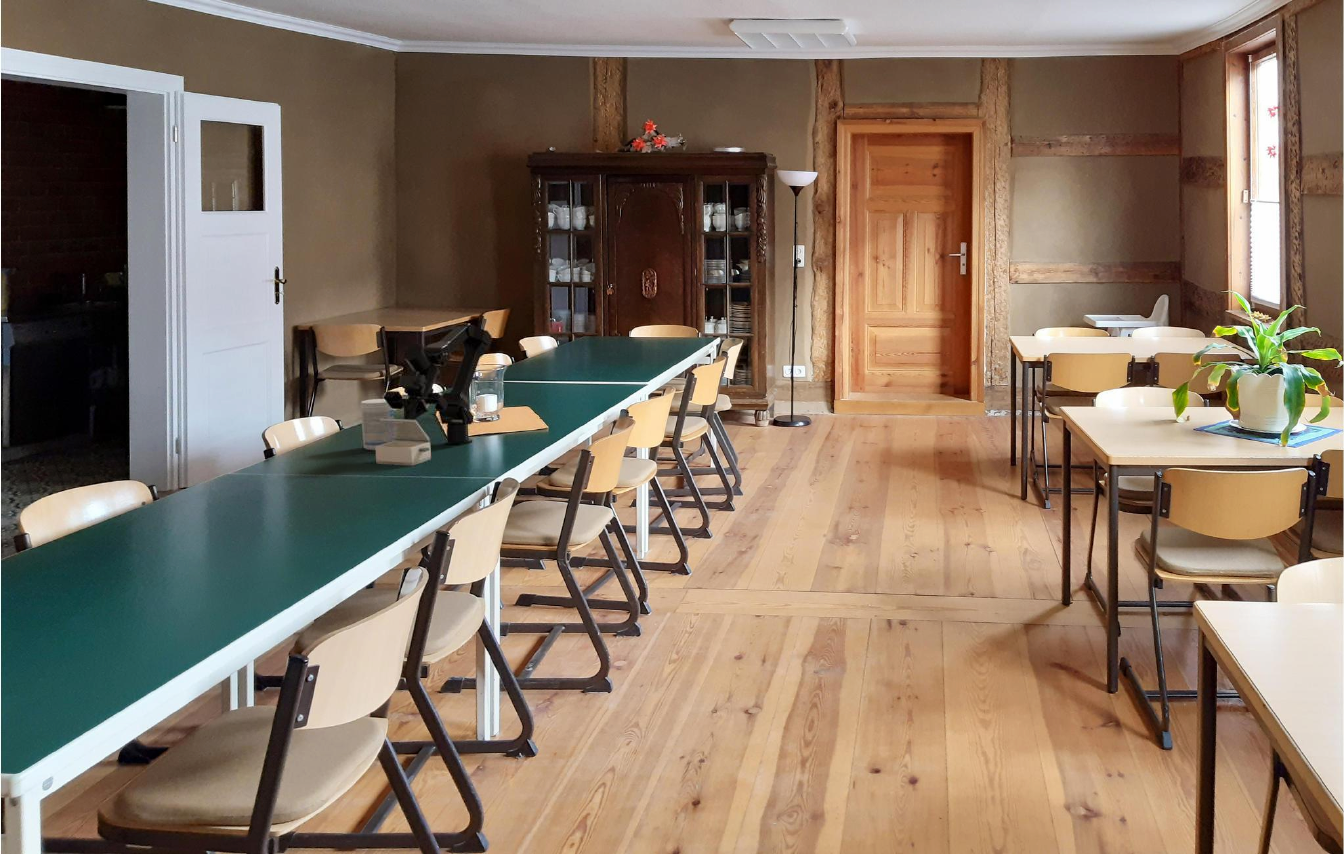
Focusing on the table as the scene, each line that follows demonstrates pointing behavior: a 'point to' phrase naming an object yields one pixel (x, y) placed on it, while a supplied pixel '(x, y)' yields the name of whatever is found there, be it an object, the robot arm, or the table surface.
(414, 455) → the pot
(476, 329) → the robot arm
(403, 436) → the lid
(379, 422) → the supplement tub
